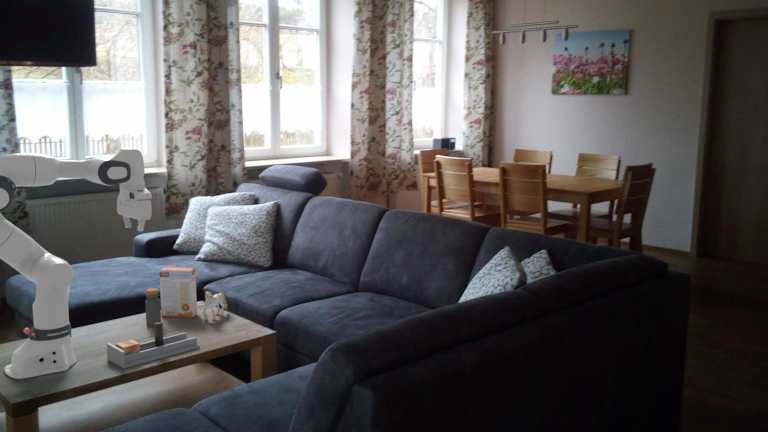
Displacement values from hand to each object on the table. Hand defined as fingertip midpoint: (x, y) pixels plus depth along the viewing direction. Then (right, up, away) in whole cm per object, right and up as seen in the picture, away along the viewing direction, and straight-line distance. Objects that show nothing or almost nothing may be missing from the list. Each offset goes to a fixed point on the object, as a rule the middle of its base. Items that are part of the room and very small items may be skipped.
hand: (134, 229), depth 260 cm
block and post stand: (+5, -45, -6) cm, 45 cm away
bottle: (-3, -40, +30) cm, 50 cm away
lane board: (+8, -46, -3) cm, 46 cm away
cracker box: (+4, -38, +43) cm, 58 cm away
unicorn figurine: (+23, -39, +39) cm, 59 cm away
